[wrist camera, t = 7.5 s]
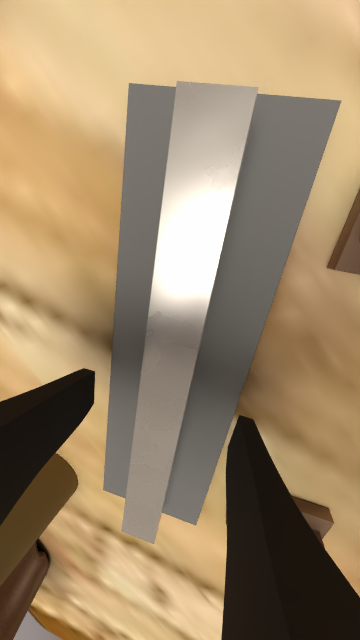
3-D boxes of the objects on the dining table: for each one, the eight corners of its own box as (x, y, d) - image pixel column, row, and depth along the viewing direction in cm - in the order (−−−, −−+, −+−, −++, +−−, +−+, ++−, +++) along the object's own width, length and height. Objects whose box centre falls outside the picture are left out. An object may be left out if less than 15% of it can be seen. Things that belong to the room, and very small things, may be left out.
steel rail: (251, 128, 8) (258, 87, 6) (163, 505, 17) (153, 544, 15) (190, 122, 9) (176, 81, 6) (135, 494, 17) (121, 530, 15)
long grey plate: (331, 113, 8) (341, 100, 8) (197, 513, 18) (195, 525, 17) (136, 95, 9) (128, 83, 9) (108, 480, 19) (103, 489, 18)
